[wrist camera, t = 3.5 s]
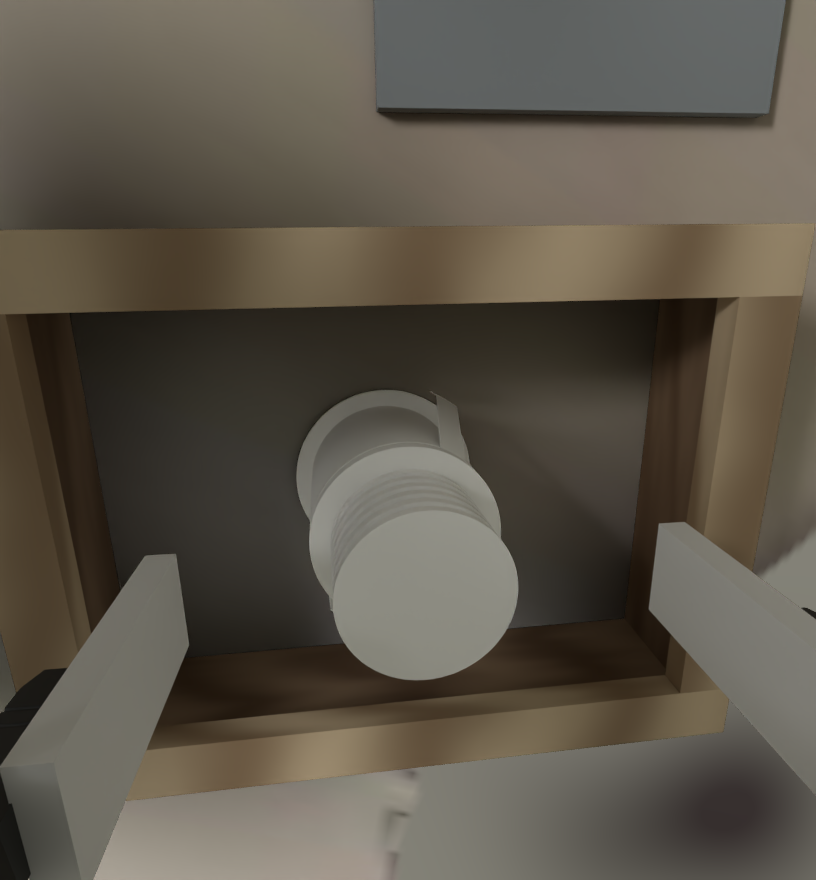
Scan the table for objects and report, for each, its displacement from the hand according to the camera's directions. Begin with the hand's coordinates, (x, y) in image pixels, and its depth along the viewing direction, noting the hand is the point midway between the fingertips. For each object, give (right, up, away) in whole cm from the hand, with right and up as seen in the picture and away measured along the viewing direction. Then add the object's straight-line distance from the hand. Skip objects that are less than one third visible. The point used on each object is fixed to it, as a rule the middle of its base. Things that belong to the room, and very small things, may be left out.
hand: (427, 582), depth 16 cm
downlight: (-1, +3, +8) cm, 9 cm away
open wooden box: (-1, +3, +8) cm, 8 cm away
